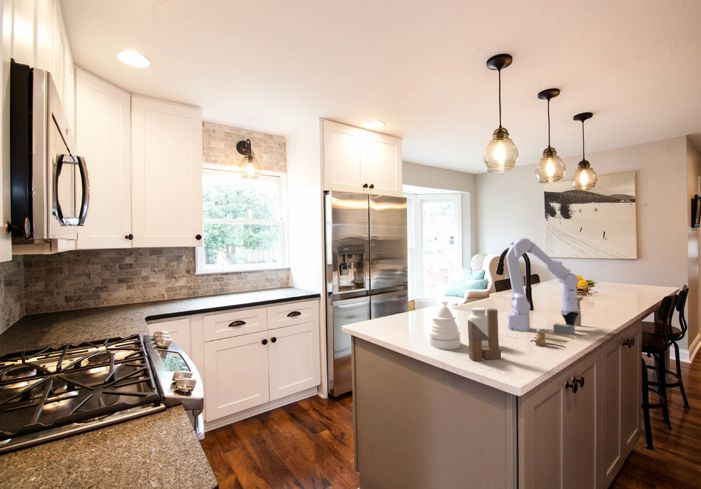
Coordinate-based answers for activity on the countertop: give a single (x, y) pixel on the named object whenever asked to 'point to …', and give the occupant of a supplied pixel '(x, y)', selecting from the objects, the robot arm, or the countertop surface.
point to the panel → (557, 338)
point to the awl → (540, 338)
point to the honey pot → (444, 329)
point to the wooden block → (478, 336)
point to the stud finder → (564, 329)
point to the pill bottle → (480, 321)
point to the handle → (578, 319)
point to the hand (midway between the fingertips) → (570, 328)
